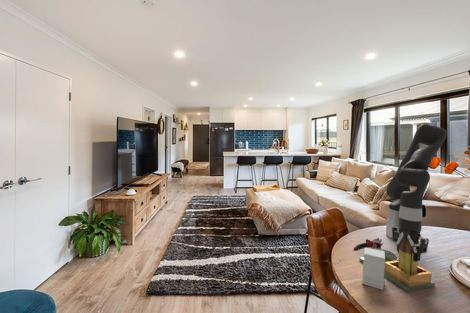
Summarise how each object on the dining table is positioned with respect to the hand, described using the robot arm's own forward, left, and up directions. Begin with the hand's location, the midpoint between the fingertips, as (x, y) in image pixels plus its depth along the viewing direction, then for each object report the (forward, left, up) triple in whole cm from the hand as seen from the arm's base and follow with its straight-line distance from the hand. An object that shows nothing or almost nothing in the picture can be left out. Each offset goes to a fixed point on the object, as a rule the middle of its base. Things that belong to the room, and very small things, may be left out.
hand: (407, 256), depth 97 cm
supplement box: (-2, -15, -10) cm, 18 cm away
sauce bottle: (0, 0, -8) cm, 8 cm away
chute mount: (-6, 0, -10) cm, 12 cm away
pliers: (-29, +10, -11) cm, 32 cm away
